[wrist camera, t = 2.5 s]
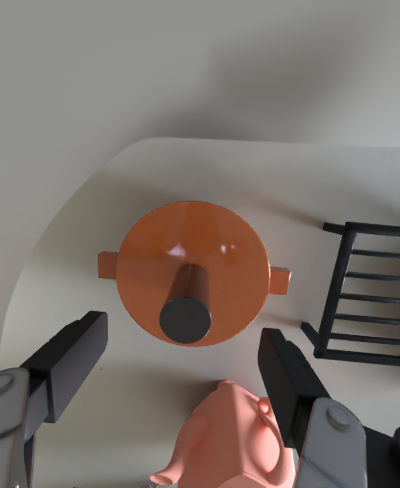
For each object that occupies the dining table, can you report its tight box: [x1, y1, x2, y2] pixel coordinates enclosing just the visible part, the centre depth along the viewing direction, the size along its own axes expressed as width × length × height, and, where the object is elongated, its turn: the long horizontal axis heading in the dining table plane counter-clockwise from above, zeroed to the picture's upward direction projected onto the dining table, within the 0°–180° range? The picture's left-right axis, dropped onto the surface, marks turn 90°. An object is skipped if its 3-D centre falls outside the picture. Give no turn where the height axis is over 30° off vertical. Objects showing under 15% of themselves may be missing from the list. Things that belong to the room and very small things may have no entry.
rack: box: [301, 222, 400, 366], centre depth 24 cm, size 16×16×5 cm
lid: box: [116, 201, 270, 347], centre depth 15 cm, size 13×13×7 cm
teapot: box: [150, 380, 295, 488], centre depth 25 cm, size 15×17×13 cm
